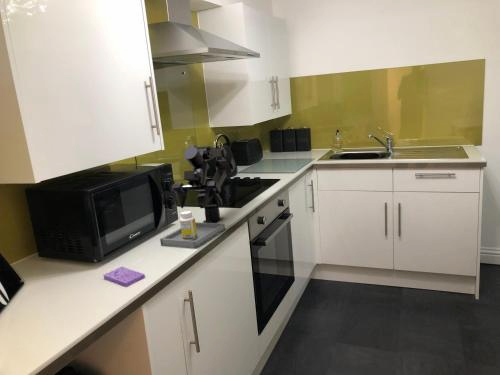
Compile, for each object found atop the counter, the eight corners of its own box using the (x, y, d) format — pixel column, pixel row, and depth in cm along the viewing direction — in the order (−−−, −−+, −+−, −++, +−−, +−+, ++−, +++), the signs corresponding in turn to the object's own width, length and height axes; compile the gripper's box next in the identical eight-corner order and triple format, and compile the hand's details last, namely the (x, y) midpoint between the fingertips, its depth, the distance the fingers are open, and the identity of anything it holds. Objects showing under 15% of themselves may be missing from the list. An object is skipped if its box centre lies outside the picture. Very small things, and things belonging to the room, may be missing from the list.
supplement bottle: (193, 234, 158) (189, 209, 155) (200, 238, 153) (196, 211, 151) (180, 239, 155) (176, 212, 152) (186, 242, 150) (182, 215, 148)
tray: (192, 227, 170) (191, 222, 170) (225, 229, 163) (224, 223, 162) (161, 245, 153) (160, 239, 153) (196, 248, 145) (195, 241, 145)
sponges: (123, 271, 134) (122, 266, 134) (146, 278, 126) (145, 273, 126) (103, 280, 129) (102, 274, 129) (126, 288, 121) (125, 282, 121)
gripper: (169, 163, 161) (161, 198, 154) (214, 160, 156) (207, 195, 148) (181, 178, 171) (173, 212, 163) (223, 175, 165) (218, 210, 157)
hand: (192, 207), depth 157 cm, fingers open, 9 cm apart
